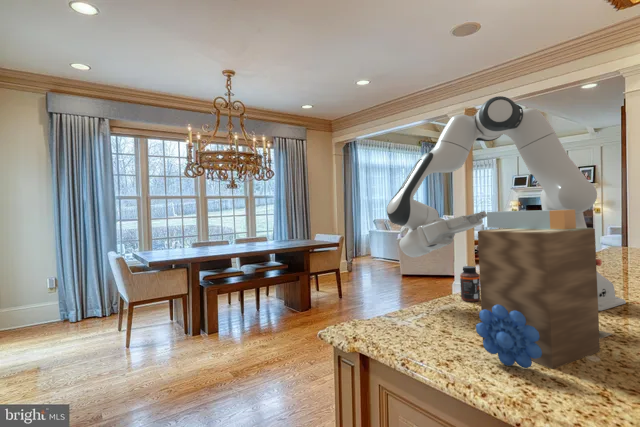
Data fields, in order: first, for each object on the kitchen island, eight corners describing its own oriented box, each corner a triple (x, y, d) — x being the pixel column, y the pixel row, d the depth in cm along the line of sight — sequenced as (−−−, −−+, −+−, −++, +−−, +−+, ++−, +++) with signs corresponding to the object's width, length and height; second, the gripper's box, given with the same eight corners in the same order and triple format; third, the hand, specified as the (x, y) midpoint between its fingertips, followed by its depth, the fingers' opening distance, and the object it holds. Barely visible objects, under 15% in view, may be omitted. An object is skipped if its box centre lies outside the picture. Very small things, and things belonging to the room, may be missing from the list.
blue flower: (471, 367, 70) (468, 306, 70) (480, 355, 75) (477, 299, 75) (540, 382, 63) (537, 315, 63) (544, 367, 68) (541, 306, 68)
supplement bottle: (482, 302, 116) (480, 268, 116) (463, 302, 117) (461, 268, 117) (477, 298, 122) (476, 265, 122) (459, 297, 123) (458, 265, 123)
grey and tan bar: (487, 227, 91) (486, 212, 91) (498, 226, 93) (497, 211, 93) (564, 229, 74) (563, 210, 74) (576, 228, 76) (575, 209, 76)
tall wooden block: (482, 342, 82) (477, 230, 82) (527, 329, 89) (523, 226, 89) (552, 368, 68) (546, 232, 68) (600, 351, 74) (594, 227, 74)
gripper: (464, 236, 115) (500, 221, 103) (421, 248, 104) (456, 232, 93) (456, 218, 116) (491, 201, 105) (412, 228, 106) (446, 210, 94)
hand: (474, 216), depth 99 cm, fingers open, 8 cm apart
